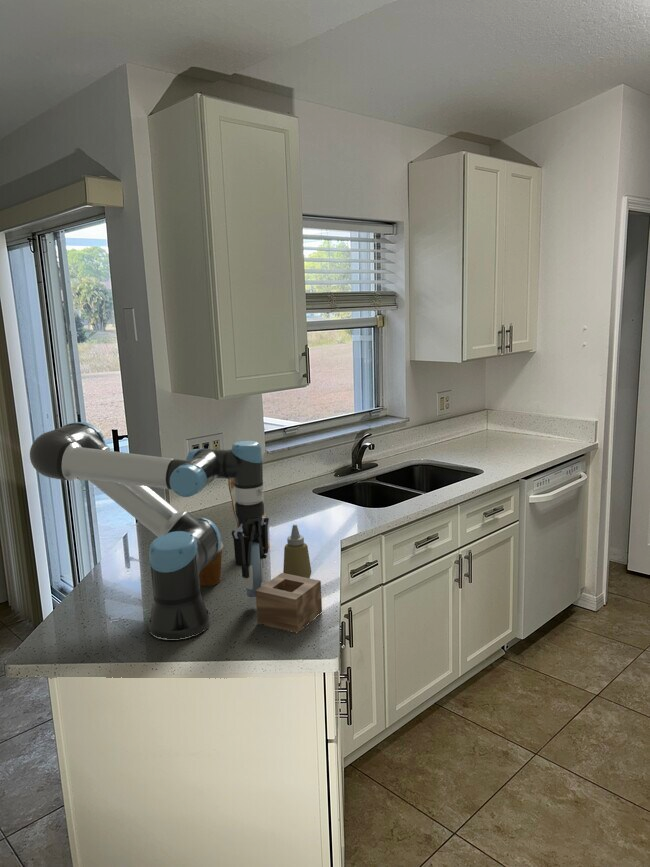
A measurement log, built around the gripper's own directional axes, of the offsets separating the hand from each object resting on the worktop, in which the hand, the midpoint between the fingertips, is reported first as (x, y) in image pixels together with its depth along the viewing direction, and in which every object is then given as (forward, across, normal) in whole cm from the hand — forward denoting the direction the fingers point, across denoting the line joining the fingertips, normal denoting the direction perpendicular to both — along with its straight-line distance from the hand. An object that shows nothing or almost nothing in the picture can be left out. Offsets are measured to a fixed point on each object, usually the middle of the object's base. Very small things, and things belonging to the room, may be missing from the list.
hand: (253, 584), depth 179 cm
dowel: (+3, 0, 0) cm, 3 cm away
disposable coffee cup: (+7, +7, +21) cm, 24 cm away
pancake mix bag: (+7, +31, +23) cm, 40 cm away
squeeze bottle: (+6, +16, -4) cm, 18 cm away
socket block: (+6, -2, -13) cm, 14 cm away
